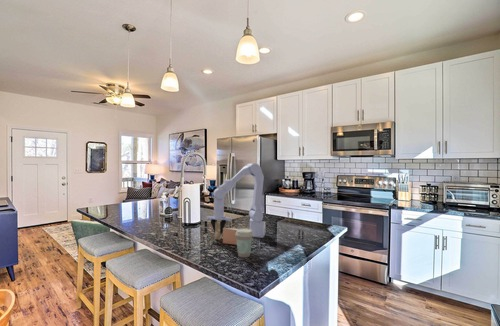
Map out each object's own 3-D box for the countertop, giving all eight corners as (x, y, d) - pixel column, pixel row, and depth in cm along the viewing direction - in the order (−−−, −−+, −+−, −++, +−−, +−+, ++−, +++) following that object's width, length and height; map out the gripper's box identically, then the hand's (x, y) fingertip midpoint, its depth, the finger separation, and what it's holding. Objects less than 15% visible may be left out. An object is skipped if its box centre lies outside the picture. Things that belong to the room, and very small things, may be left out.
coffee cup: (231, 254, 117) (231, 230, 117) (244, 250, 123) (244, 226, 123) (243, 260, 111) (243, 234, 111) (256, 255, 117) (256, 230, 117)
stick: (221, 238, 142) (222, 221, 142) (219, 239, 139) (220, 222, 139) (217, 237, 142) (217, 220, 142) (214, 239, 140) (215, 222, 139)
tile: (237, 243, 133) (237, 228, 133) (236, 244, 132) (236, 229, 131) (223, 242, 135) (224, 227, 135) (222, 243, 134) (222, 228, 134)
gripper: (232, 208, 143) (232, 231, 143) (209, 207, 146) (208, 230, 146) (229, 211, 136) (229, 235, 136) (205, 209, 139) (204, 233, 139)
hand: (218, 232), depth 141 cm, fingers closed on stick, 3 cm apart
